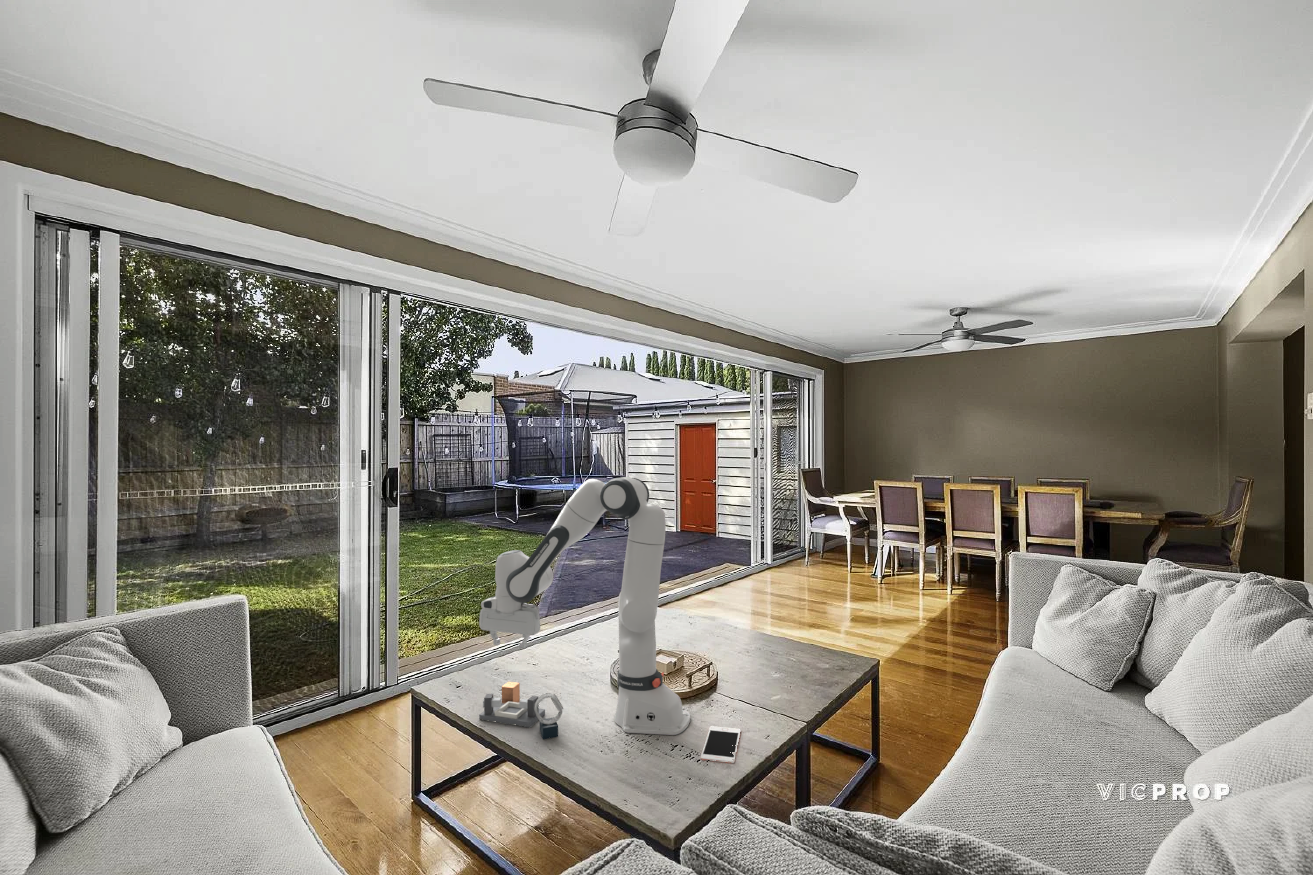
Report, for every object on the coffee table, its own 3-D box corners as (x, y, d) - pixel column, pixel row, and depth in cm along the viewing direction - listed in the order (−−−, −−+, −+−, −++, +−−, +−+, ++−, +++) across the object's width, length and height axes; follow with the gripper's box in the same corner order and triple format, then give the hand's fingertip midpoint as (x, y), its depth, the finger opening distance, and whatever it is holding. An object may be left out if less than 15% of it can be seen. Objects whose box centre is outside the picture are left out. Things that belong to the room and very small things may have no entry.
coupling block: (519, 701, 194) (519, 682, 194) (513, 707, 190) (512, 687, 190) (508, 700, 195) (508, 681, 195) (501, 705, 192) (501, 686, 192)
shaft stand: (545, 714, 185) (544, 692, 185) (529, 727, 177) (529, 705, 177) (496, 706, 190) (496, 686, 190) (479, 719, 182) (479, 697, 182)
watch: (565, 735, 172) (564, 696, 172) (536, 740, 169) (536, 700, 169) (561, 726, 177) (560, 688, 177) (533, 731, 174) (532, 692, 174)
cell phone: (741, 731, 174) (741, 728, 174) (734, 765, 156) (734, 761, 156) (710, 728, 176) (710, 725, 176) (700, 761, 158) (700, 757, 158)
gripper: (544, 602, 193) (544, 646, 193) (487, 597, 199) (488, 639, 199) (533, 607, 187) (534, 652, 187) (476, 602, 193) (476, 645, 193)
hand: (509, 645), depth 193 cm, fingers open, 8 cm apart
